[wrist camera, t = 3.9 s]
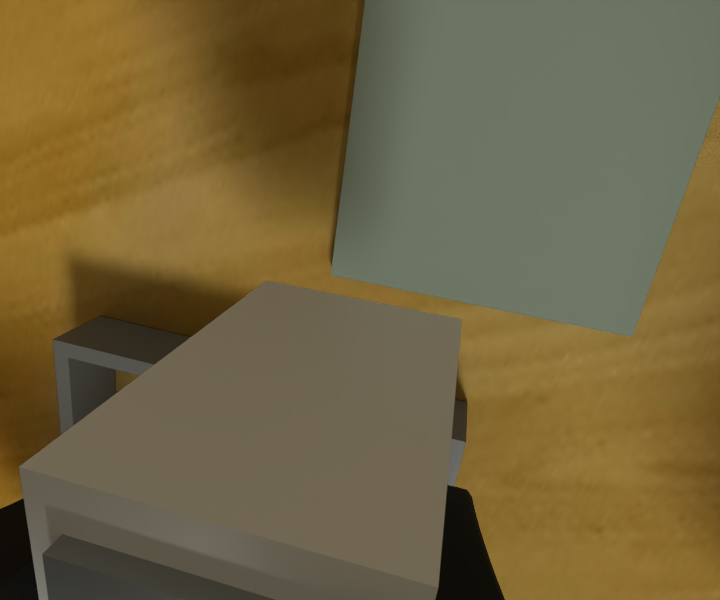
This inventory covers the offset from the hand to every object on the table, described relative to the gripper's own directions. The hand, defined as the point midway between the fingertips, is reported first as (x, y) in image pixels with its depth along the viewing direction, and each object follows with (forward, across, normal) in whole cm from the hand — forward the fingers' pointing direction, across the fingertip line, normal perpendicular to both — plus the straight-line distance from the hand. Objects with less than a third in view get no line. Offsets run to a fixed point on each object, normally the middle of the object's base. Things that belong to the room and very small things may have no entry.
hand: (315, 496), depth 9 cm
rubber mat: (+9, -3, -6) cm, 12 cm away
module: (+2, 0, 0) cm, 2 cm away
